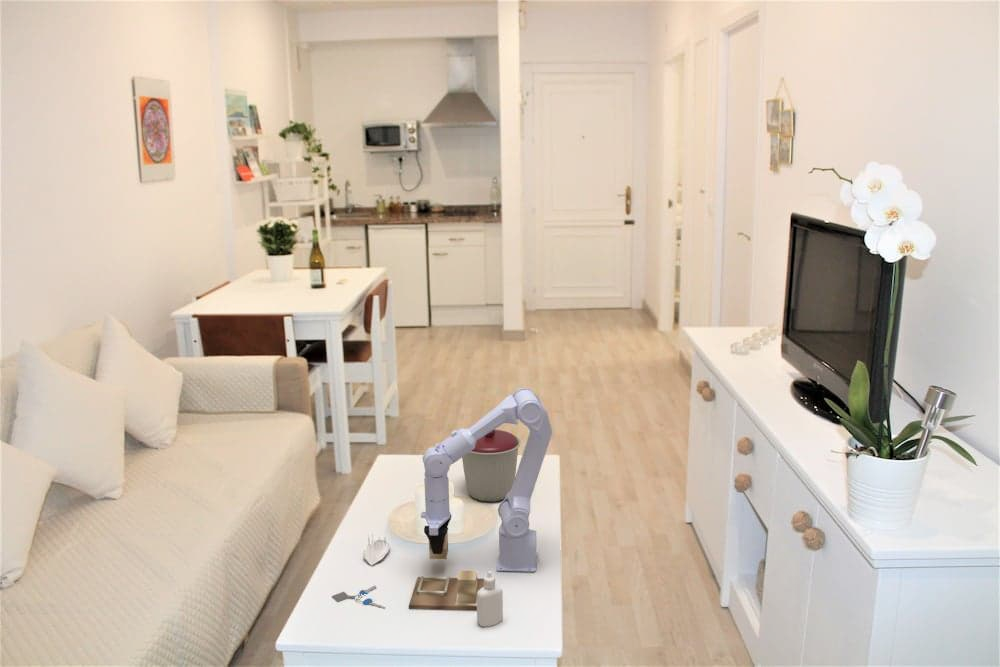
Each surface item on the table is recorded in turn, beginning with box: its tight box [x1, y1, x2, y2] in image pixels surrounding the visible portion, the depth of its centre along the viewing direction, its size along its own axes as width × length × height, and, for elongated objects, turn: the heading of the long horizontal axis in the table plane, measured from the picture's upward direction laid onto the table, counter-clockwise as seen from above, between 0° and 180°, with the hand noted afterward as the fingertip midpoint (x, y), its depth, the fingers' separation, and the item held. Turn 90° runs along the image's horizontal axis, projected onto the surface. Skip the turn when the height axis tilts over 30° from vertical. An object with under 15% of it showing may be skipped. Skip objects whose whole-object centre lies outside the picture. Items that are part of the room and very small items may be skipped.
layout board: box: [408, 569, 484, 612], centre depth 191 cm, size 16×12×7 cm
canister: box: [461, 429, 522, 503], centre depth 243 cm, size 18×18×21 cm
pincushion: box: [363, 535, 391, 566], centre depth 211 cm, size 12×6×6 cm, turn 175°
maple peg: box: [428, 531, 449, 560], centre depth 201 cm, size 4×4×6 cm
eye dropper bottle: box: [476, 570, 504, 628], centre depth 180 cm, size 4×6×12 cm
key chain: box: [331, 585, 386, 610], centre depth 193 cm, size 14×8×1 cm, turn 75°
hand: (438, 548), depth 202 cm, fingers closed on maple peg, 4 cm apart
